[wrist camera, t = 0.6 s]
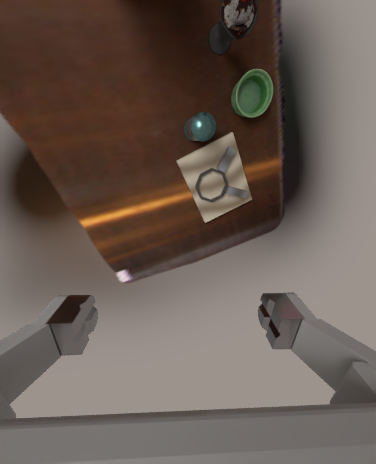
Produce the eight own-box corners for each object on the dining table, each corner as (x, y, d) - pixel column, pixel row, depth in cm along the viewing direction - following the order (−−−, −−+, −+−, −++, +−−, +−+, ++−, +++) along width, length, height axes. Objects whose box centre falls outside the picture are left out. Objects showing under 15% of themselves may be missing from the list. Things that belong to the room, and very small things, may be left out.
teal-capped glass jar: (191, 112, 44) (200, 105, 36) (207, 126, 46) (220, 123, 38) (179, 132, 46) (186, 130, 37) (196, 144, 48) (206, 146, 39)
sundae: (219, 7, 37) (257, -65, 24) (240, 39, 40) (284, -10, 27) (198, 39, 39) (222, -12, 26) (219, 67, 41) (251, 34, 28)
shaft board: (176, 160, 49) (177, 162, 46) (230, 132, 48) (236, 131, 45) (204, 221, 58) (207, 225, 55) (249, 198, 57) (255, 201, 54)
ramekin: (222, 108, 45) (228, 105, 41) (240, 66, 42) (249, 58, 38) (250, 125, 48) (259, 124, 44) (269, 87, 45) (280, 82, 41)
